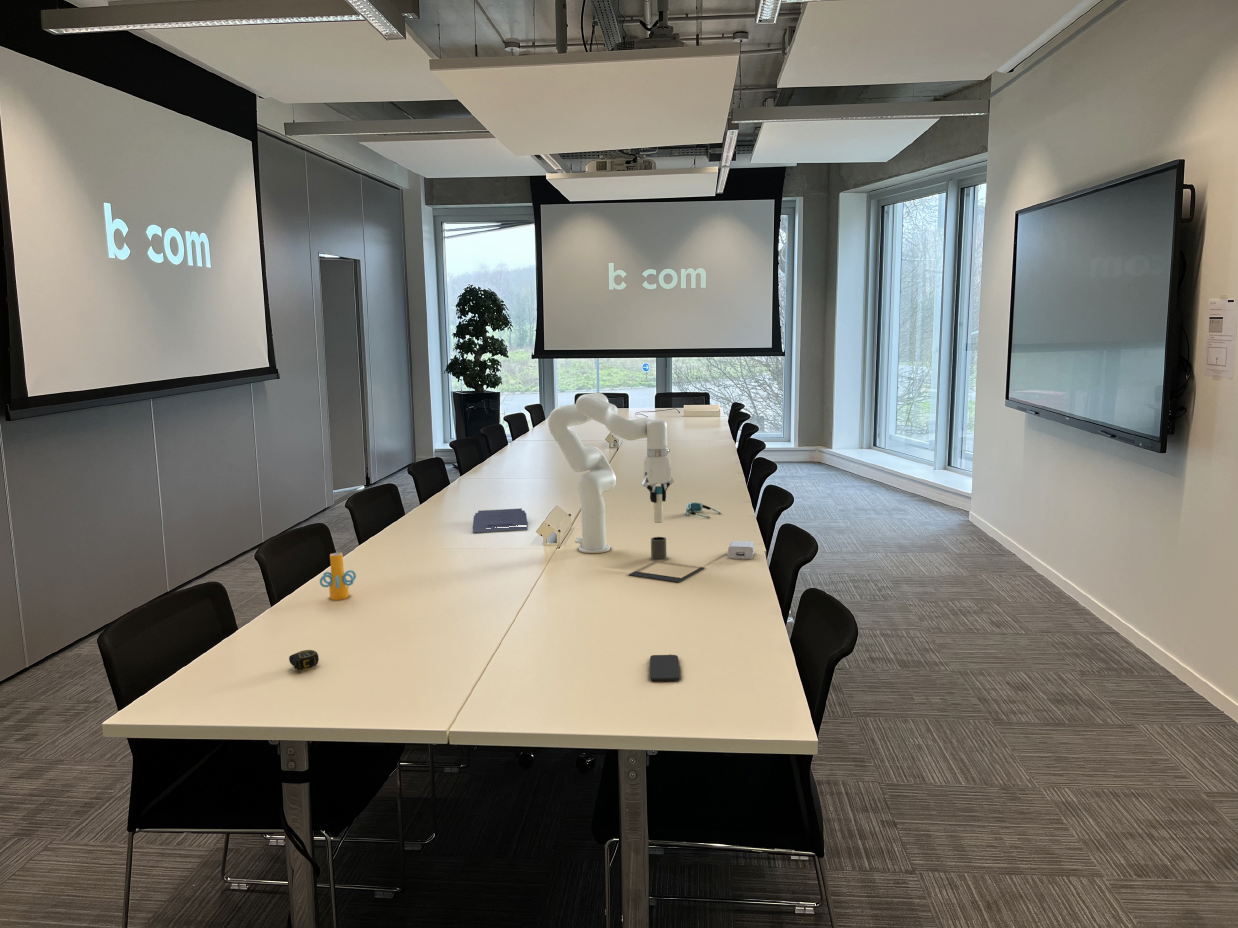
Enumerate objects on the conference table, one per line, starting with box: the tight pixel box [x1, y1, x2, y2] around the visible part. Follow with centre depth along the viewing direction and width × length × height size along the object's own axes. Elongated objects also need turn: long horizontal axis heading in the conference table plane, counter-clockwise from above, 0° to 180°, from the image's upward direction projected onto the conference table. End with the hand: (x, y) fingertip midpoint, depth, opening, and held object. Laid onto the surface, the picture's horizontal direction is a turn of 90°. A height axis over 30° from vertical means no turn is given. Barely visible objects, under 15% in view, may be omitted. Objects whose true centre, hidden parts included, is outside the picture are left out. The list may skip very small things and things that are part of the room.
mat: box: [628, 566, 705, 584], centre depth 306 cm, size 20×20×1 cm
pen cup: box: [650, 536, 668, 561], centre depth 323 cm, size 6×6×8 cm
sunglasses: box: [685, 501, 722, 519], centre depth 399 cm, size 14×15×5 cm
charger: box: [727, 540, 755, 560], centre depth 328 cm, size 5×9×15 cm
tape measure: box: [288, 649, 320, 672], centre depth 226 cm, size 7×7×4 cm
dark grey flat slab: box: [472, 507, 529, 534], centre depth 389 cm, size 24×30×4 cm
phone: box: [649, 654, 681, 682], centre depth 218 cm, size 7×1×15 cm
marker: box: [653, 485, 664, 524], centre depth 319 cm, size 3×3×14 cm
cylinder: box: [319, 552, 357, 601], centre depth 285 cm, size 12×10×15 cm
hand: (658, 500), depth 319 cm, fingers closed on marker, 3 cm apart
